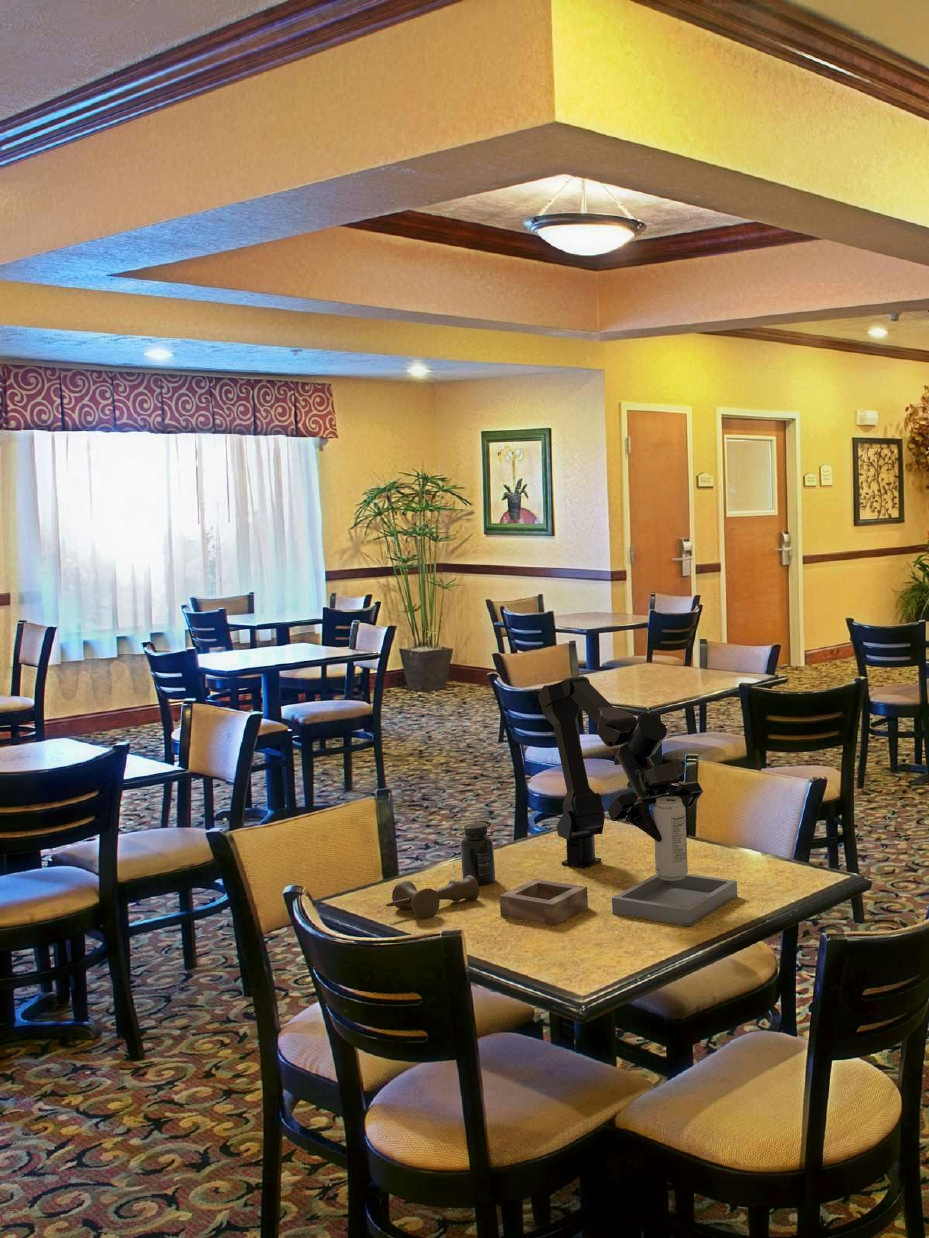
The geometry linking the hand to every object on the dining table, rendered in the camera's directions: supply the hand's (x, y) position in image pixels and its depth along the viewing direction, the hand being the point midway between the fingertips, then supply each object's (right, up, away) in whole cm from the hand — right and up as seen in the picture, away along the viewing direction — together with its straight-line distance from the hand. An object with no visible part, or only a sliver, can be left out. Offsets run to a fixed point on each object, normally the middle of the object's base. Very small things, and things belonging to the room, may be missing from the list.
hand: (674, 838), depth 234 cm
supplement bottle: (-37, -14, +25) cm, 46 cm away
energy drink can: (0, -8, +2) cm, 8 cm away
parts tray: (+1, -13, +2) cm, 13 cm away
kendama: (-46, -16, +9) cm, 49 cm away
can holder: (-24, -15, +3) cm, 28 cm away
